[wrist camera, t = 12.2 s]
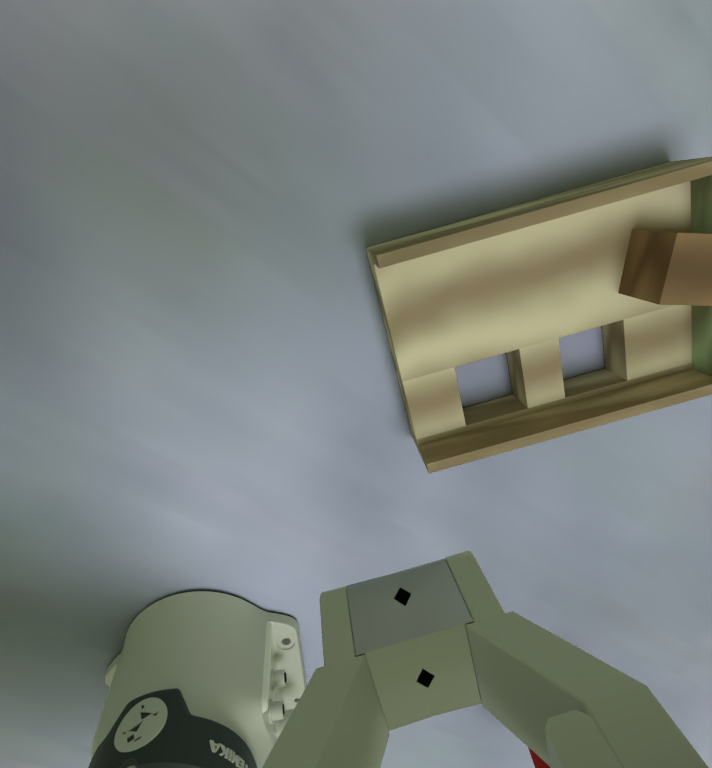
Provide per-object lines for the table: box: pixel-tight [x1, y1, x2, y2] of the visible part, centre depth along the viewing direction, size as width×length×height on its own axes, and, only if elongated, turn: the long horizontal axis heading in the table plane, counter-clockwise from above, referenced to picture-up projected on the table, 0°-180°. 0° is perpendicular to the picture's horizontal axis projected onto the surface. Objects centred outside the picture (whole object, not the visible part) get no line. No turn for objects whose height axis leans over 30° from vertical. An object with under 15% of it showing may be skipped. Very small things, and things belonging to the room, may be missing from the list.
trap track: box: [366, 157, 712, 473], centre depth 35 cm, size 16×23×7 cm
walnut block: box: [618, 230, 712, 306], centre depth 32 cm, size 4×4×4 cm
